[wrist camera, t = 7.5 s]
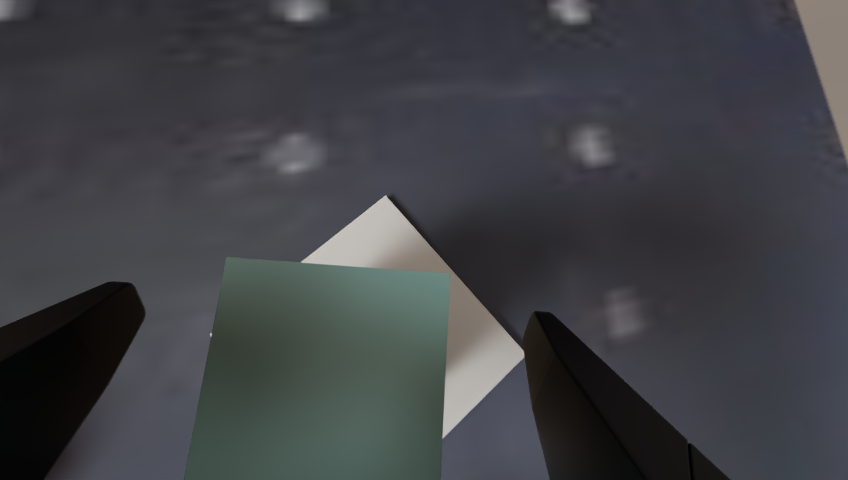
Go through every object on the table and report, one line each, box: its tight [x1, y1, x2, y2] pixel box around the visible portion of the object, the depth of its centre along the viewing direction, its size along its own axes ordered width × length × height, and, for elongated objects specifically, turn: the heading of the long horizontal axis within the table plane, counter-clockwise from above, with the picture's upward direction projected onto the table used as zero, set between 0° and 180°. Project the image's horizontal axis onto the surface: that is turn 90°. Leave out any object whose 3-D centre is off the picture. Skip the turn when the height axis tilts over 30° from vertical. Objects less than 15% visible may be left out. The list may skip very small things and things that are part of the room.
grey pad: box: [210, 196, 525, 439], centre depth 19 cm, size 12×12×1 cm
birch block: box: [184, 257, 450, 480], centre depth 13 cm, size 5×5×12 cm
